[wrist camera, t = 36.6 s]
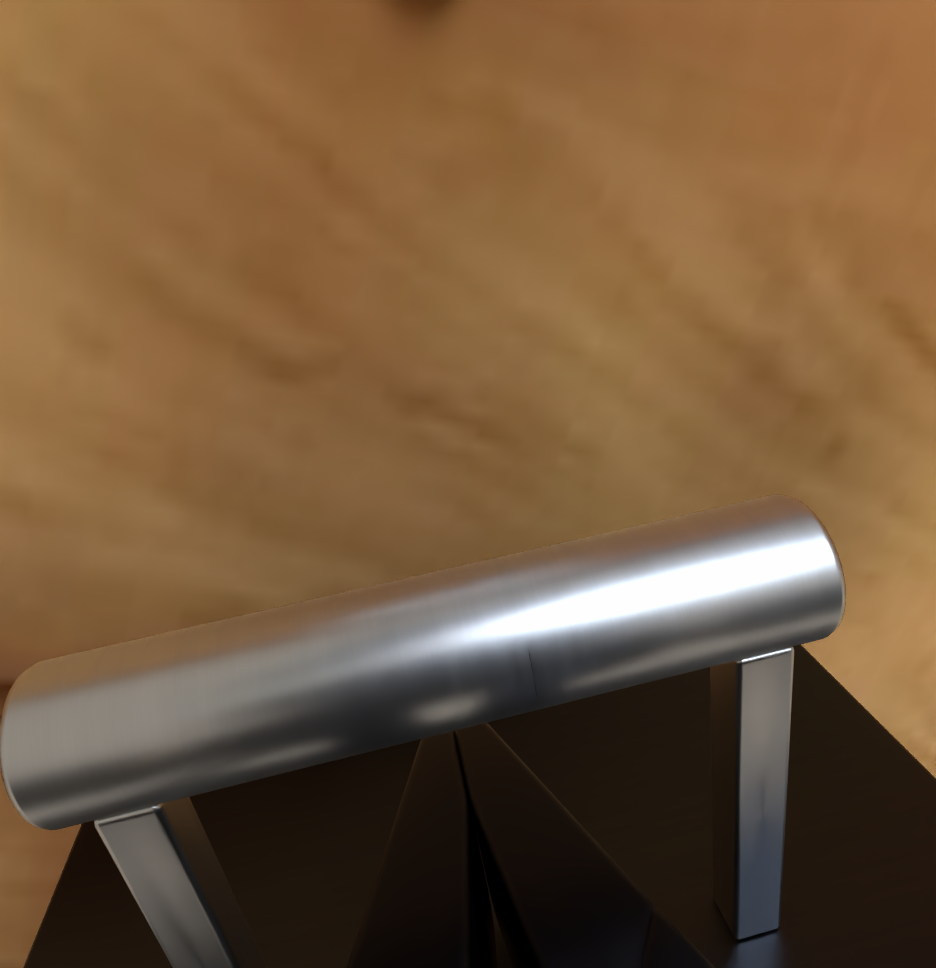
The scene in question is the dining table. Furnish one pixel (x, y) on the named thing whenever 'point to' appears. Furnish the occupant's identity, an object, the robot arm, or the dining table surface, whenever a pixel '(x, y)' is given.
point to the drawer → (522, 726)
